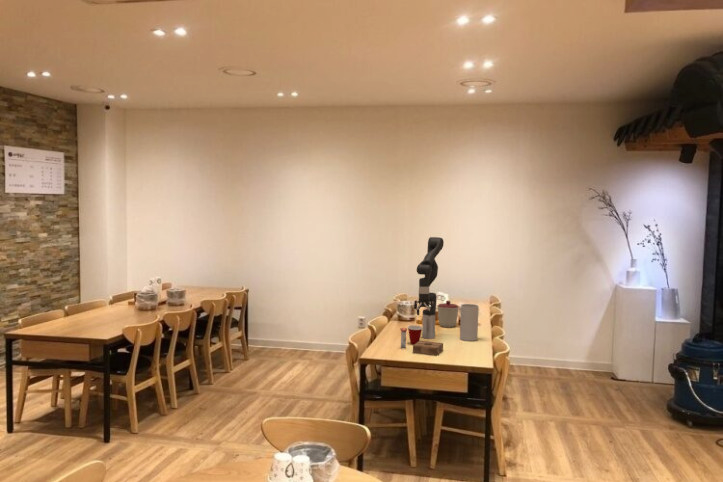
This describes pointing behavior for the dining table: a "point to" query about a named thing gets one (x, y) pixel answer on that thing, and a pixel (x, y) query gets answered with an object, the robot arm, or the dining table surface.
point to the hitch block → (428, 348)
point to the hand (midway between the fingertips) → (423, 315)
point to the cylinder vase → (469, 322)
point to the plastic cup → (414, 333)
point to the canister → (447, 314)
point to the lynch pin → (403, 337)
